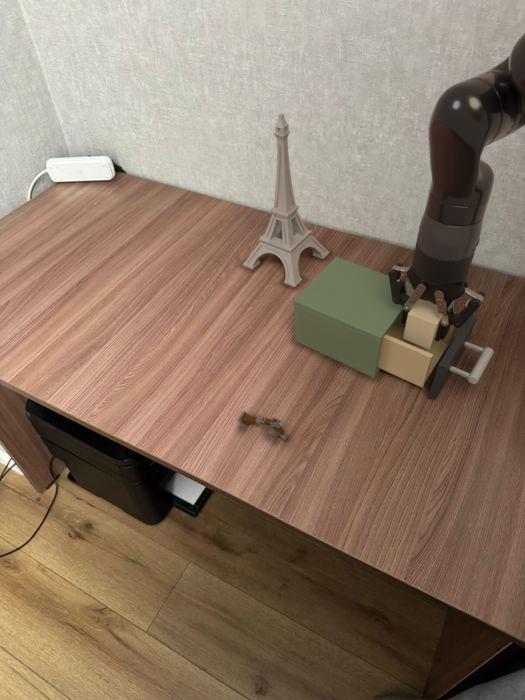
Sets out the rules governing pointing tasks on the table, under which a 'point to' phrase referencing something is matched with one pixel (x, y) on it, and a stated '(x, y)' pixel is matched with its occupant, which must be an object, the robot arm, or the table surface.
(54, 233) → the table surface
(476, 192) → the robot arm
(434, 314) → the block
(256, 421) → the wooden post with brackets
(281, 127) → the eiffel tower
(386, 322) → the cabinet
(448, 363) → the drawer
